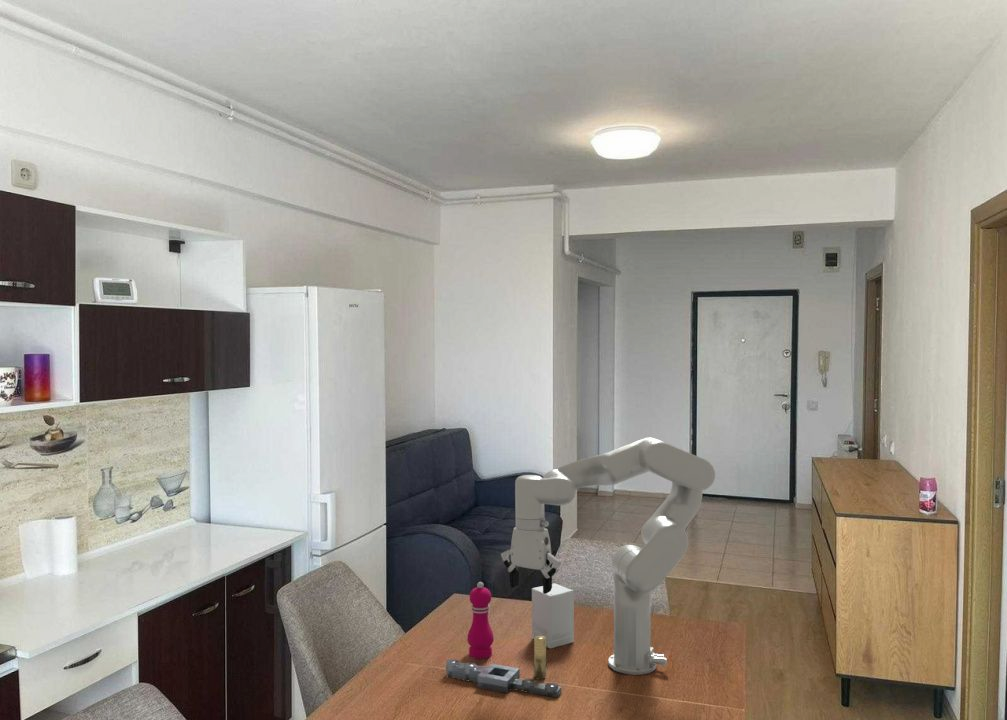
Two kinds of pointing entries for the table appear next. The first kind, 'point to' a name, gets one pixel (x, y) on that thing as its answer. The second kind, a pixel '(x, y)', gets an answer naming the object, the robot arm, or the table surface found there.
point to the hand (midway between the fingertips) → (530, 589)
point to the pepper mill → (480, 623)
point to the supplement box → (553, 615)
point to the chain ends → (499, 678)
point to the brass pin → (539, 657)
